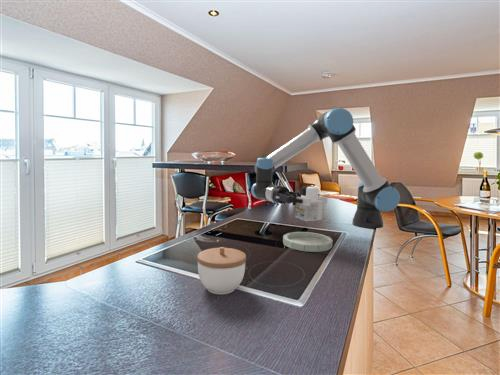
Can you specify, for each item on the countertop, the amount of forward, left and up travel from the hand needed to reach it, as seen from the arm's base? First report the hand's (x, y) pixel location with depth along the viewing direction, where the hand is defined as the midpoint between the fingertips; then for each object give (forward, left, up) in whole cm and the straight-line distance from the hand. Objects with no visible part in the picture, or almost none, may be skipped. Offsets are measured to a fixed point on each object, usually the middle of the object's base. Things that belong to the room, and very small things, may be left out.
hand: (318, 201), depth 117 cm
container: (+1, -5, -8) cm, 9 cm away
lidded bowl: (+48, +19, -18) cm, 54 cm away
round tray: (+1, -4, -18) cm, 18 cm away
